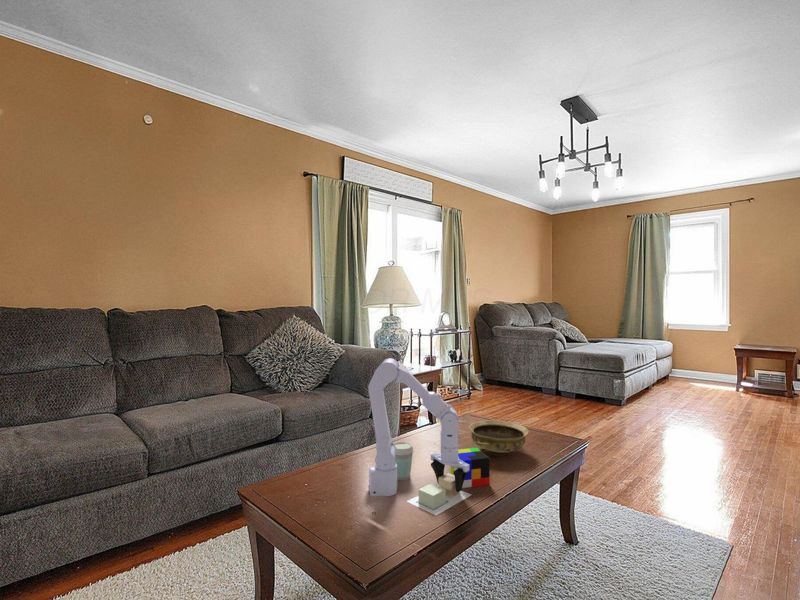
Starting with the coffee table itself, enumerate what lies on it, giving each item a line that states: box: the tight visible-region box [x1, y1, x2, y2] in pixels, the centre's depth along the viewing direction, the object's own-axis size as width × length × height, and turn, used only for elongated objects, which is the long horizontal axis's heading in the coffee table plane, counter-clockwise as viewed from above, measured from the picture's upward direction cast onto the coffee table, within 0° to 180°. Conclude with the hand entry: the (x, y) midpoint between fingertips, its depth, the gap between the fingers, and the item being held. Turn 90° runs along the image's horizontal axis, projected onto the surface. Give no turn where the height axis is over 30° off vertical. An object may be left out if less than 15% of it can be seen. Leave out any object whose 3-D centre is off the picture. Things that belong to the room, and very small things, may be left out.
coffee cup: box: [393, 441, 415, 481], centre depth 152 cm, size 8×8×12 cm
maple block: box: [439, 472, 460, 498], centre depth 140 cm, size 5×5×5 cm
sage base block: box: [418, 483, 446, 509], centre depth 134 cm, size 6×6×4 cm
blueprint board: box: [406, 484, 472, 516], centre depth 136 cm, size 18×12×1 cm, turn 135°
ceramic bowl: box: [468, 419, 529, 456], centre depth 178 cm, size 30×24×10 cm
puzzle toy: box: [450, 447, 491, 489], centre depth 150 cm, size 10×10×10 cm
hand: (449, 487), depth 140 cm, fingers open, 7 cm apart
